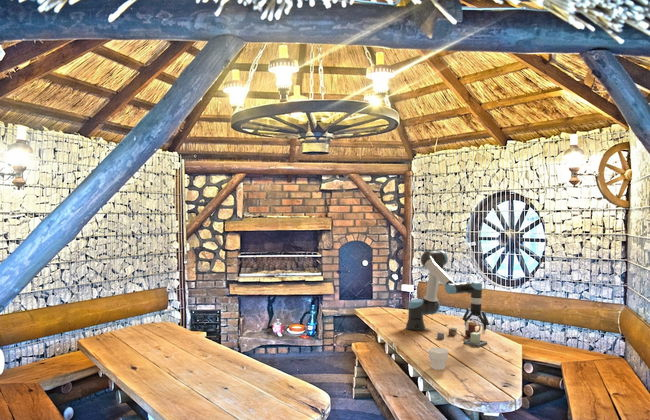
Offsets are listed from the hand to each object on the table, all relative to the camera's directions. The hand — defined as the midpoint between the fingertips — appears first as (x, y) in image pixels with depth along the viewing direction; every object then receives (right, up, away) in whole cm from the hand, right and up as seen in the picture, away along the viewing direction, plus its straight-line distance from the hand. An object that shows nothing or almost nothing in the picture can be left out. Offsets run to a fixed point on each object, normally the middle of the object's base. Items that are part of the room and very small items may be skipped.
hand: (475, 332), depth 377 cm
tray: (0, -8, 0) cm, 8 cm away
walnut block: (-11, -8, +24) cm, 27 cm away
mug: (+3, -8, +19) cm, 21 cm away
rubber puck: (-22, -8, +13) cm, 27 cm away
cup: (-39, -9, -55) cm, 68 cm away
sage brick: (0, -8, 0) cm, 8 cm away
